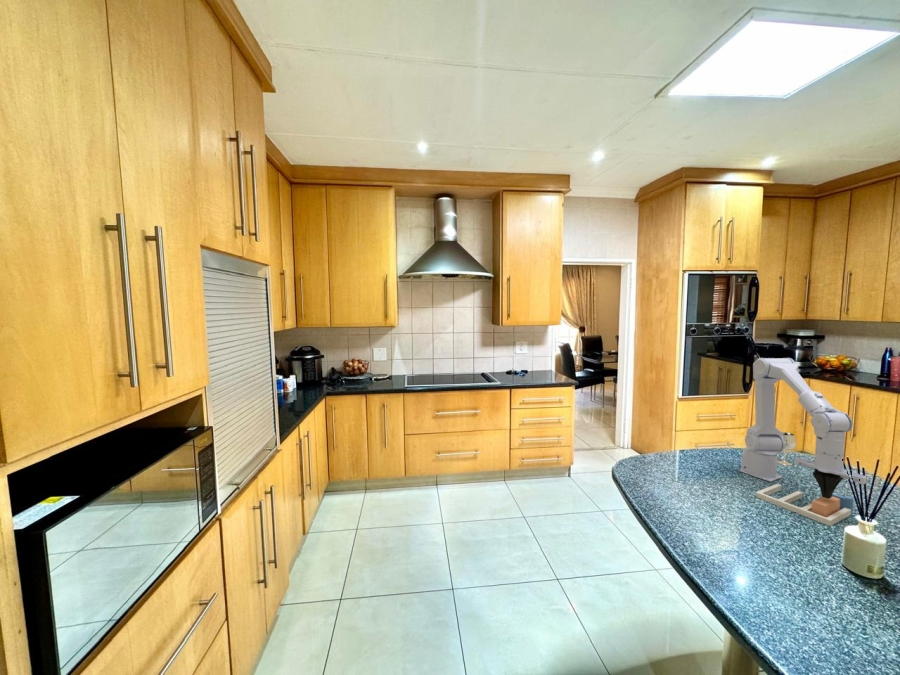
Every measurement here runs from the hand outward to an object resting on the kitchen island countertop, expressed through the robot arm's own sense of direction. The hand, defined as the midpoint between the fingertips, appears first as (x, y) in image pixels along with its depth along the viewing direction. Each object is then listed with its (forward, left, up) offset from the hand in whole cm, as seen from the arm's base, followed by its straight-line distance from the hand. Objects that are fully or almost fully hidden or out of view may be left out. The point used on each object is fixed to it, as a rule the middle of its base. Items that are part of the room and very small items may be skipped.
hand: (826, 497), depth 104 cm
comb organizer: (-5, 0, -5) cm, 7 cm away
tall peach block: (0, 0, -5) cm, 5 cm away
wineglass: (-23, +33, -5) cm, 41 cm away
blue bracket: (0, +7, -5) cm, 9 cm away
